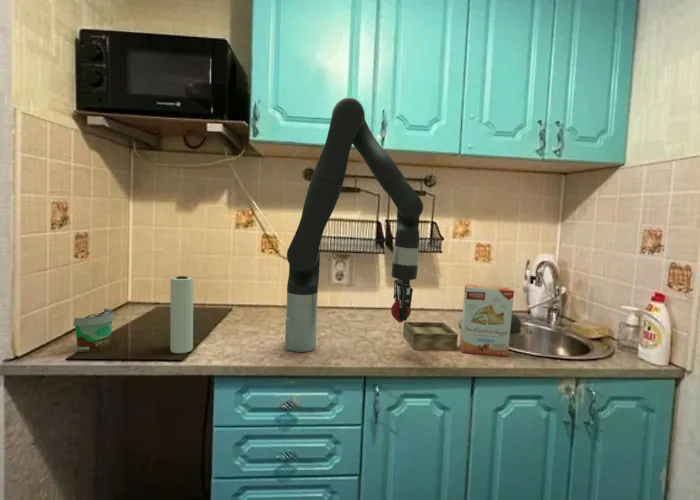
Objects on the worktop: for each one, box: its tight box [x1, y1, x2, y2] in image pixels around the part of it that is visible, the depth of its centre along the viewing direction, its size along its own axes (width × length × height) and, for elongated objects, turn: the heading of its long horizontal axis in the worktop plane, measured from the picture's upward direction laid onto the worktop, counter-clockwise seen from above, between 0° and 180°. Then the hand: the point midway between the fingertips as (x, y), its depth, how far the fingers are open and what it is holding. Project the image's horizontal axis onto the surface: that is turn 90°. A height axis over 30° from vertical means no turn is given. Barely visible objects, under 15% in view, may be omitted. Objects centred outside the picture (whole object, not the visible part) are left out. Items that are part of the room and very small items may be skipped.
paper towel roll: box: [169, 275, 194, 354], centre depth 124 cm, size 7×6×21 cm
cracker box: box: [459, 283, 515, 357], centre depth 134 cm, size 14×6×21 cm, turn 82°
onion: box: [390, 300, 412, 324], centre depth 130 cm, size 6×6×8 cm
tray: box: [402, 321, 458, 351], centre depth 142 cm, size 14×14×5 cm
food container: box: [72, 308, 116, 351], centre depth 123 cm, size 12×6×10 cm, turn 171°
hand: (400, 317), depth 130 cm, fingers closed on onion, 5 cm apart
